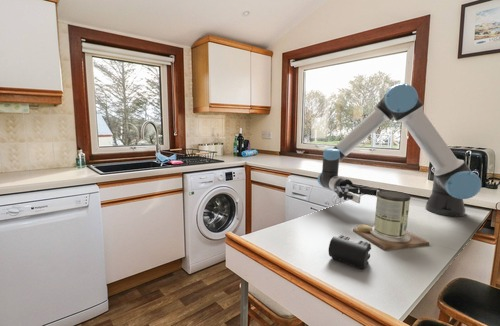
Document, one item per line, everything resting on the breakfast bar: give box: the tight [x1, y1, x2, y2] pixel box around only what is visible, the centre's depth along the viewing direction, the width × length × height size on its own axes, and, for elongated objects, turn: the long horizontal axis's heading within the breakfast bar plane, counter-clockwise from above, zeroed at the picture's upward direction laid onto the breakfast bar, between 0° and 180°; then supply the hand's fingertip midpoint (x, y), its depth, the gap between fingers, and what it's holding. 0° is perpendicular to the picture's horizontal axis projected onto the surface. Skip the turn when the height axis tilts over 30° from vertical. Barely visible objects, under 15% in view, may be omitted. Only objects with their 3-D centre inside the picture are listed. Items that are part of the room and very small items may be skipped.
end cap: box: [328, 234, 372, 270], centre depth 78 cm, size 10×7×7 cm
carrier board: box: [352, 224, 430, 251], centre depth 96 cm, size 18×16×2 cm
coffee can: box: [373, 189, 412, 238], centre depth 95 cm, size 10×10×14 cm
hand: (374, 198), depth 103 cm, fingers open, 13 cm apart
